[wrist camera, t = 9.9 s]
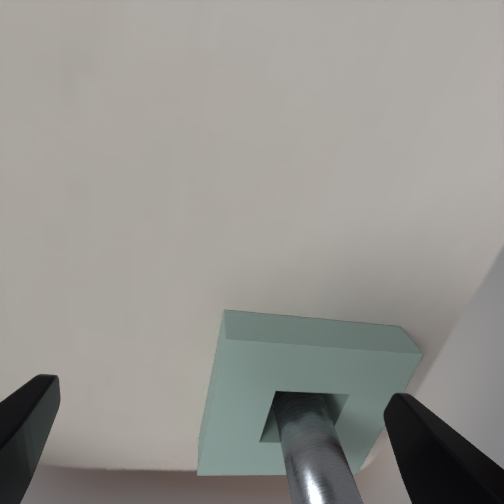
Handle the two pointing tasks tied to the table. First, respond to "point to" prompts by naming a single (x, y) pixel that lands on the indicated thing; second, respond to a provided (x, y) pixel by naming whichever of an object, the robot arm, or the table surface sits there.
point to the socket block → (298, 385)
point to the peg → (312, 451)
